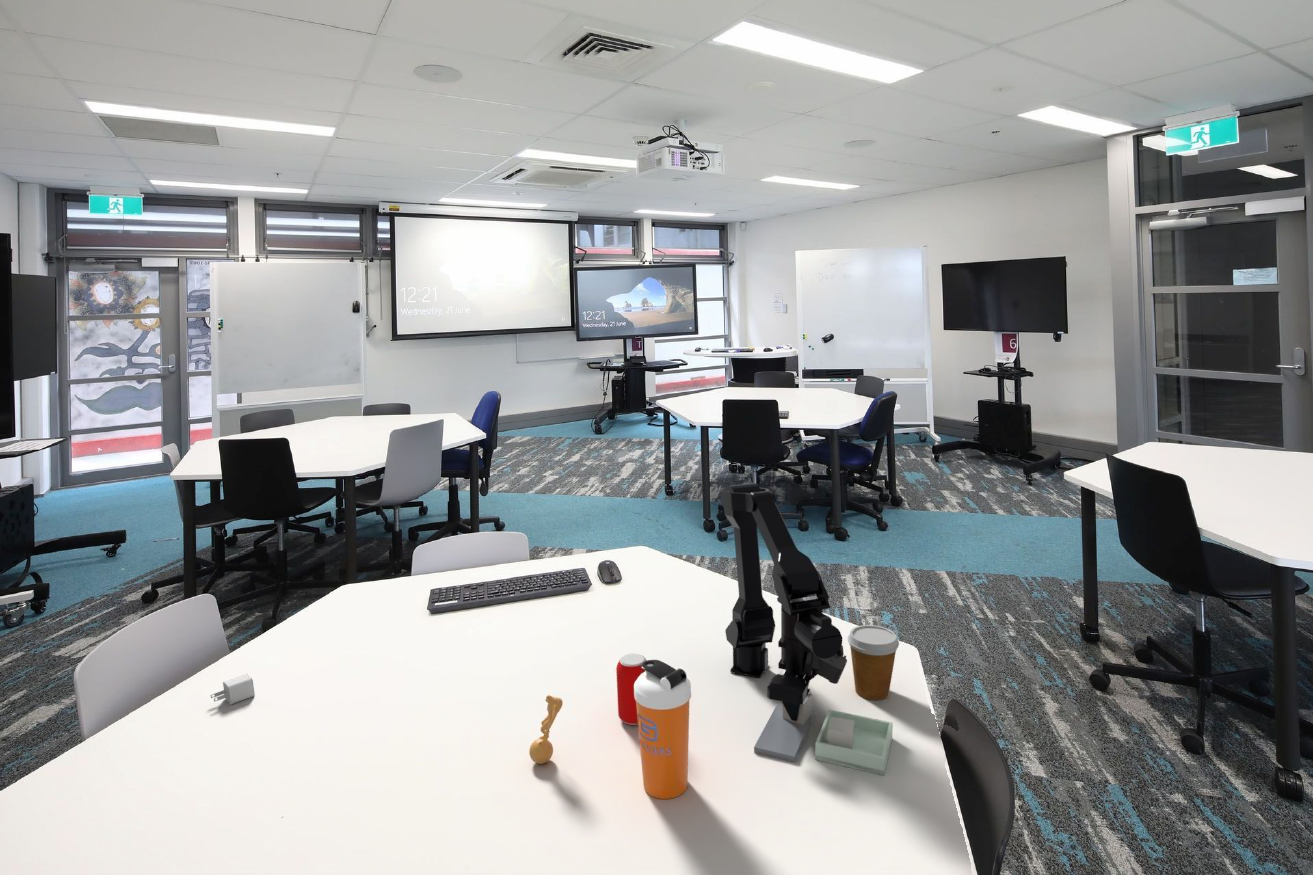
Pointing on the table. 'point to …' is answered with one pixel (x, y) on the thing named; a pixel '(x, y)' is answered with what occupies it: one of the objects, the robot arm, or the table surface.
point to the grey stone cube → (801, 711)
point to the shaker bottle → (663, 728)
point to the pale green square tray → (857, 744)
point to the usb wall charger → (236, 689)
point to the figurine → (545, 733)
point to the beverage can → (628, 686)
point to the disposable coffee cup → (872, 660)
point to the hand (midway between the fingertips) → (797, 713)
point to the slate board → (782, 736)
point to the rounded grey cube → (841, 732)
